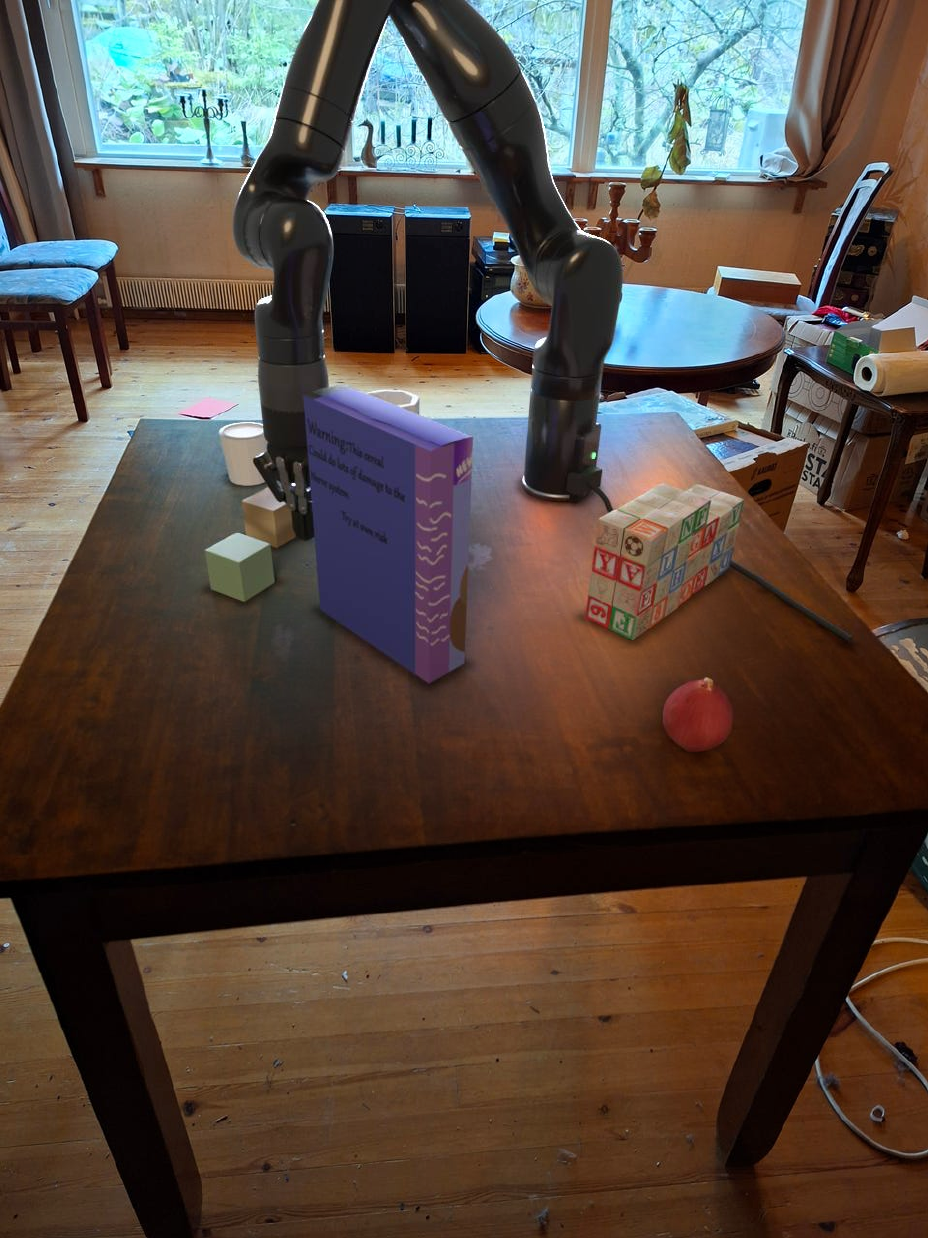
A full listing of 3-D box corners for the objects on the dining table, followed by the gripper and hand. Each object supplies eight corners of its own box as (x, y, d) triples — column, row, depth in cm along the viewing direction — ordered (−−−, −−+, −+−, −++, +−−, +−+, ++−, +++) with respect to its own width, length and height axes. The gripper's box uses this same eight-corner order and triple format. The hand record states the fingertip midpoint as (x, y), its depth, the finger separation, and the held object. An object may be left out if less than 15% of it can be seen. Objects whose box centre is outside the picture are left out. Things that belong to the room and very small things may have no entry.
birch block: (303, 532, 105) (300, 496, 102) (277, 548, 101) (273, 511, 98) (273, 522, 107) (269, 486, 104) (246, 537, 103) (241, 500, 100)
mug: (358, 454, 126) (355, 390, 120) (414, 450, 128) (414, 387, 122) (370, 487, 116) (367, 419, 111) (430, 483, 118) (431, 416, 113)
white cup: (280, 469, 120) (275, 422, 117) (266, 489, 115) (261, 440, 111) (234, 466, 121) (228, 419, 117) (218, 485, 115) (211, 437, 111)
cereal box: (464, 665, 82) (473, 434, 69) (428, 685, 80) (430, 448, 66) (355, 595, 93) (344, 382, 79) (320, 610, 90) (303, 392, 76)
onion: (648, 728, 75) (663, 657, 71) (710, 726, 76) (728, 655, 71) (667, 773, 71) (683, 700, 66) (733, 771, 71) (753, 698, 67)
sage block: (275, 582, 94) (270, 543, 92) (244, 602, 91) (239, 562, 88) (241, 570, 96) (236, 532, 94) (210, 589, 93) (204, 550, 90)
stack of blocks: (684, 551, 103) (702, 458, 97) (729, 569, 100) (752, 474, 93) (583, 618, 90) (597, 516, 83) (632, 642, 87) (651, 537, 80)
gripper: (364, 399, 91) (368, 539, 101) (271, 377, 97) (283, 512, 106) (321, 419, 86) (330, 564, 95) (225, 394, 91) (243, 534, 101)
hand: (306, 536), depth 101 cm, fingers closed
